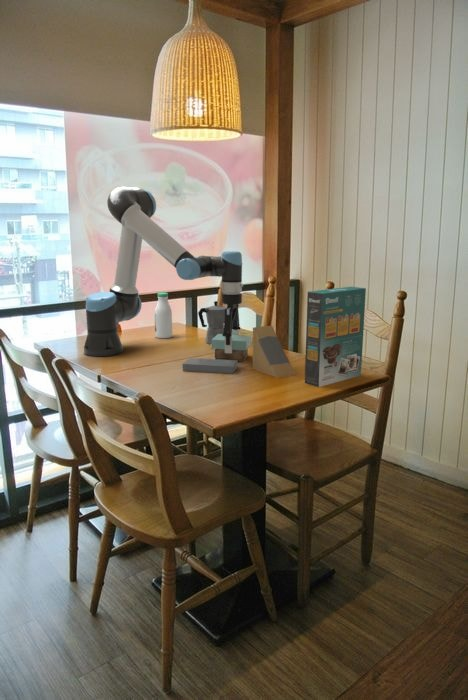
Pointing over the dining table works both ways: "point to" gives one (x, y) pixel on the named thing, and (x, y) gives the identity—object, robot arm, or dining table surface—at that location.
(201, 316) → the coffeepot
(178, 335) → the dining table surface
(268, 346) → the sandwich container
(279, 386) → the dining table surface
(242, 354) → the crate
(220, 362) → the board
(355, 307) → the cake mix box
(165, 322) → the milk bottle
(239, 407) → the dining table surface
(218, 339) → the lid
